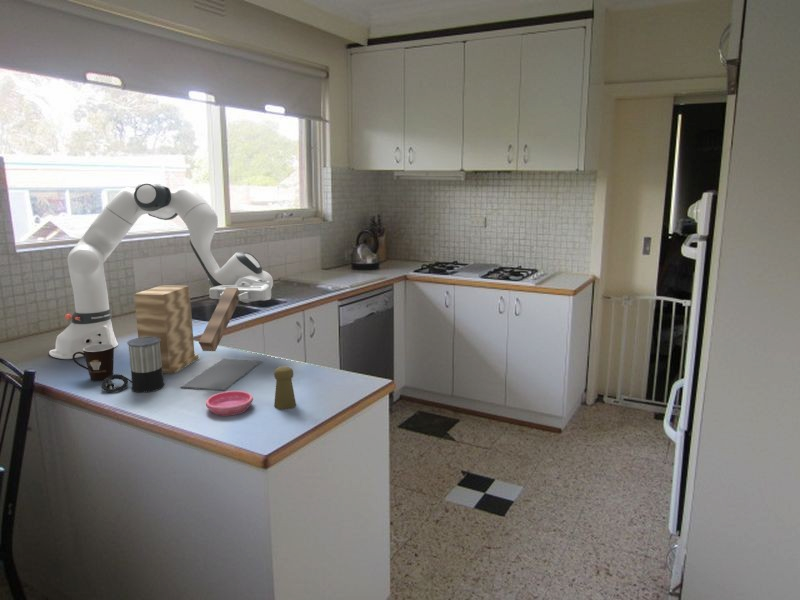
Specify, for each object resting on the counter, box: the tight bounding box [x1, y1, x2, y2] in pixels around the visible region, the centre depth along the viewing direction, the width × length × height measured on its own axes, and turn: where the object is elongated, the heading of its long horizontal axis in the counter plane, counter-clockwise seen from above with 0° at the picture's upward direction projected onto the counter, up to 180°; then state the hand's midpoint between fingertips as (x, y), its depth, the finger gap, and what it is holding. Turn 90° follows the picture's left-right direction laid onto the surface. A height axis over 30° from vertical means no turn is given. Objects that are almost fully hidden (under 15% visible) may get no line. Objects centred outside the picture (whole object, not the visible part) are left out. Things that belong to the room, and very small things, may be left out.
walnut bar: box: [198, 287, 240, 352], centre depth 180 cm, size 24×4×4 cm
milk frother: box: [100, 337, 166, 393], centre depth 170 cm, size 14×16×15 cm
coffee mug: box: [72, 344, 115, 382], centre depth 180 cm, size 12×9×10 cm
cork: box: [273, 366, 297, 410], centre depth 157 cm, size 6×6×11 cm
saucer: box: [205, 390, 254, 417], centre depth 156 cm, size 12×12×3 cm
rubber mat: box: [180, 358, 262, 392], centre depth 184 cm, size 28×14×1 cm, turn 171°
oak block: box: [133, 284, 200, 375], centre depth 190 cm, size 16×13×26 cm
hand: (230, 297), depth 186 cm, fingers closed on walnut bar, 4 cm apart
